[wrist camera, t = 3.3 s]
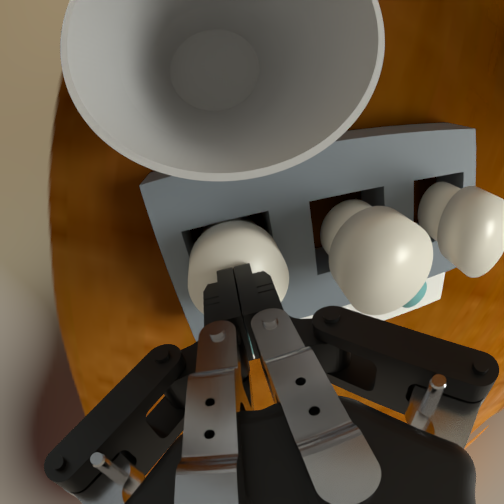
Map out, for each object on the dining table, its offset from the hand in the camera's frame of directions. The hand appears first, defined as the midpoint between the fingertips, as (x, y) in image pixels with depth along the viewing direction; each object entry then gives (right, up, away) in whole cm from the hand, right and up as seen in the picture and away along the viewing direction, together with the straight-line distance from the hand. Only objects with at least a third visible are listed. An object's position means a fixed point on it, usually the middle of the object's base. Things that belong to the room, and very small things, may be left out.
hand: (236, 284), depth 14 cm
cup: (-1, +11, +1) cm, 11 cm away
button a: (+12, +4, +3) cm, 13 cm away
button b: (+6, +3, +3) cm, 7 cm away
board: (+6, +4, +5) cm, 9 cm away
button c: (-1, +2, +4) cm, 5 cm away
